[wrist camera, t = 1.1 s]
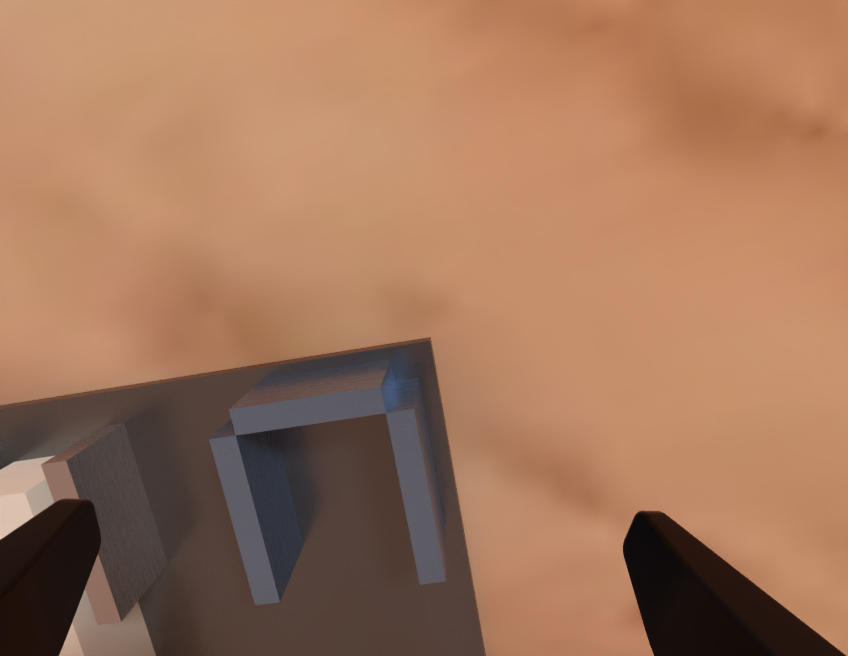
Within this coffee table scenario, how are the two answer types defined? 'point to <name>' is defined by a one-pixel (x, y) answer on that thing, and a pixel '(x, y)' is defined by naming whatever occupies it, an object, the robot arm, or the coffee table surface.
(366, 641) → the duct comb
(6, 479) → the long cream bar
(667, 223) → the coffee table surface
